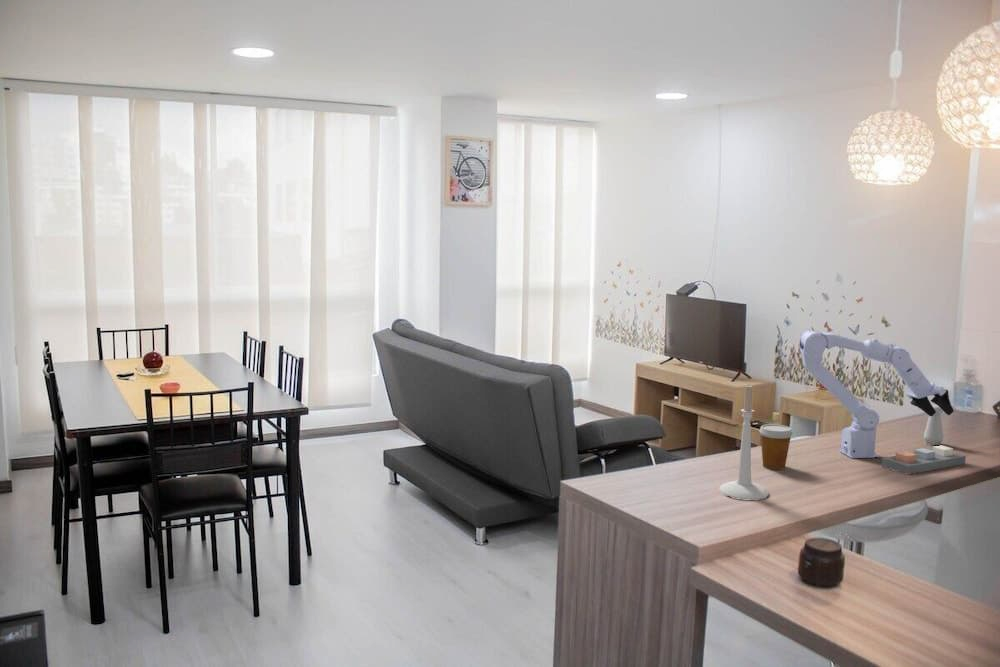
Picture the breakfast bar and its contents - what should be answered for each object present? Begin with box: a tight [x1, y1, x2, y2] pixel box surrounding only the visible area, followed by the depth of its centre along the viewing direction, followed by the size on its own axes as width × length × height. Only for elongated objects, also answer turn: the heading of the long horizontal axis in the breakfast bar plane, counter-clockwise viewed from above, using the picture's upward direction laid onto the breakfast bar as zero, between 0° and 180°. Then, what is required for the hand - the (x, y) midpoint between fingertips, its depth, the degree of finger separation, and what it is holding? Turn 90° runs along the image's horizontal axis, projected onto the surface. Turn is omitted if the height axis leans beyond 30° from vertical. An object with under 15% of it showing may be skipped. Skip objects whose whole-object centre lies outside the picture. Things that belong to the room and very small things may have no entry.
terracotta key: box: [895, 450, 917, 463], centre depth 247 cm, size 4×4×2 cm
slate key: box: [913, 447, 935, 460], centre depth 251 cm, size 4×4×2 cm
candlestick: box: [718, 384, 769, 501], centre depth 224 cm, size 13×13×30 cm
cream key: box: [931, 444, 954, 457], centre depth 254 cm, size 4×4×2 cm
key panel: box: [881, 452, 967, 475], centre depth 251 cm, size 25×9×2 cm, turn 115°
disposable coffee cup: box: [758, 423, 794, 470], centre depth 248 cm, size 10×10×12 cm
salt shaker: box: [923, 404, 944, 446], centre depth 273 cm, size 6×6×13 cm
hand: (942, 413), depth 256 cm, fingers open, 7 cm apart
